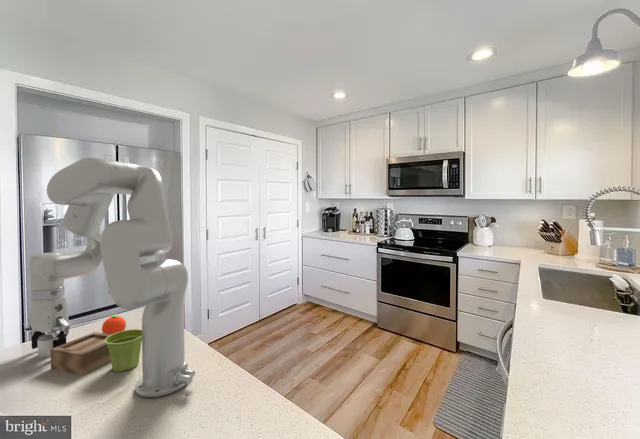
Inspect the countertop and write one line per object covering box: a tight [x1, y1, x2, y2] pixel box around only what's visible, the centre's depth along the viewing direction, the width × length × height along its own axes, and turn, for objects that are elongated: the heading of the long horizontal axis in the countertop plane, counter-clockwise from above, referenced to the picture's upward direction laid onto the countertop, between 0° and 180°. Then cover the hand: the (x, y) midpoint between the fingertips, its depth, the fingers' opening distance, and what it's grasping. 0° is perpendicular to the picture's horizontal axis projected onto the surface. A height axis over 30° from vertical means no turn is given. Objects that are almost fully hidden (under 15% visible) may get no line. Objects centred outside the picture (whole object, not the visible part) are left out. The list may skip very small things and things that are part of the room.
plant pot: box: [104, 328, 142, 373], centre depth 80 cm, size 9×9×9 cm
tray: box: [50, 331, 112, 376], centre depth 83 cm, size 12×12×6 cm
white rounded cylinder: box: [37, 332, 60, 359], centre depth 87 cm, size 5×5×6 cm
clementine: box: [101, 315, 127, 334], centre depth 101 cm, size 8×7×7 cm
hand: (49, 349), depth 87 cm, fingers open, 9 cm apart
